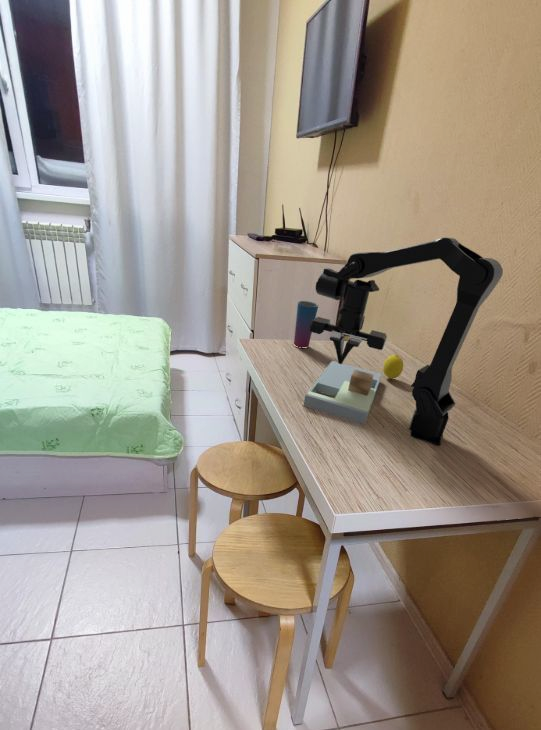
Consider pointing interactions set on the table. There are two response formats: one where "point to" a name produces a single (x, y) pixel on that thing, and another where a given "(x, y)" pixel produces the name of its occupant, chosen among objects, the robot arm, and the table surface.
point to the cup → (304, 322)
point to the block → (360, 382)
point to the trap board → (341, 393)
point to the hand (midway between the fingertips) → (340, 363)
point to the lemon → (393, 366)
